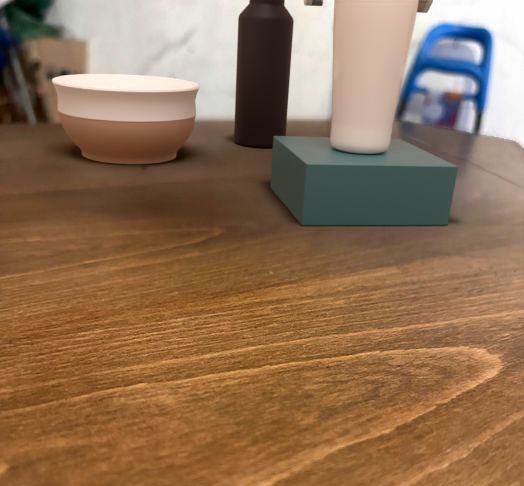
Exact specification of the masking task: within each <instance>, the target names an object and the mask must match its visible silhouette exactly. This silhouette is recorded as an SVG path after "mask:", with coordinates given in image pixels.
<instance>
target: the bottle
mask: <svg viewBox="0 0 524 486" xmlns="http://www.w3.org/2000/svg"><path fill="white" fill-rule="evenodd" d="M285 1H286V0H249V1H248V4H247V5H246V6H245V8H244V9H242V11H241V12H240V13H239V15H238V19H237V21H238V22H237V42H236V43H237V44H236V45H237V46H236V47H237V48H236V71H235V73H236V75H235V97H234V98H235V101H234V124H233V125H234V126H233V127H234V128H233V129H234V130H233V140H234V142H235V144H238V145H241V146H245V147H248V148H249V147H250V148H259V149H261V148H262V149H268V148H269V149H271V148H272V149H273V136H287V122H288V108H289V95H290V94H289V93H290V79H291V66H292V65H291V64H292V51H293V37H294V23H295V21H294V17H293V16H292V15H291V13H290V12H289V10H288V9H287V8H286V5H285Z"/></svg>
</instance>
